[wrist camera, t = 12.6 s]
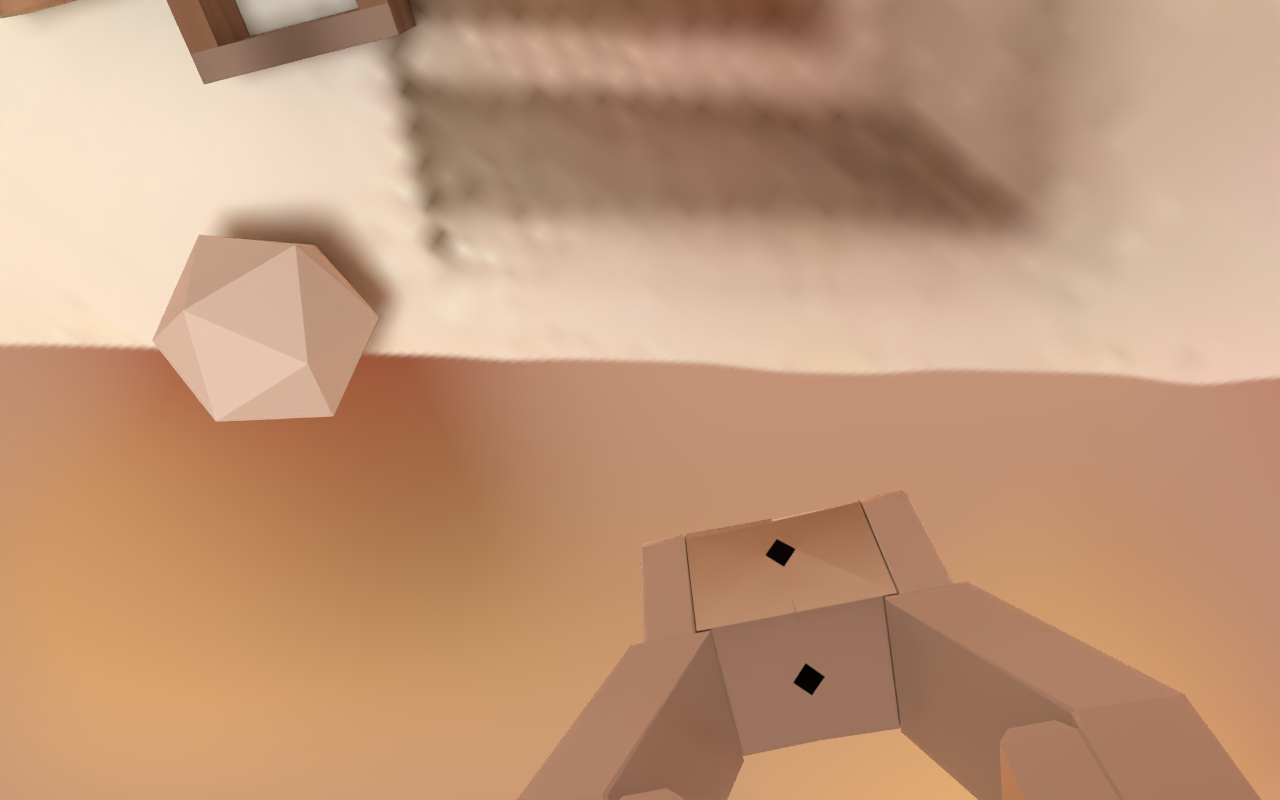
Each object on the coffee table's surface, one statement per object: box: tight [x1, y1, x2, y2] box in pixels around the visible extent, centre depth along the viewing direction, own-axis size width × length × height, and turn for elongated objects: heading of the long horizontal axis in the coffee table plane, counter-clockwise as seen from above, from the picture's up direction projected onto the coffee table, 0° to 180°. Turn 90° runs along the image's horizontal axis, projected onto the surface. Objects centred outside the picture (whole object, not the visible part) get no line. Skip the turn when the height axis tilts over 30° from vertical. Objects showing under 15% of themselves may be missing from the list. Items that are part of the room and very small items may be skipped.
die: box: [152, 235, 379, 422], centre depth 41 cm, size 8×9×10 cm
